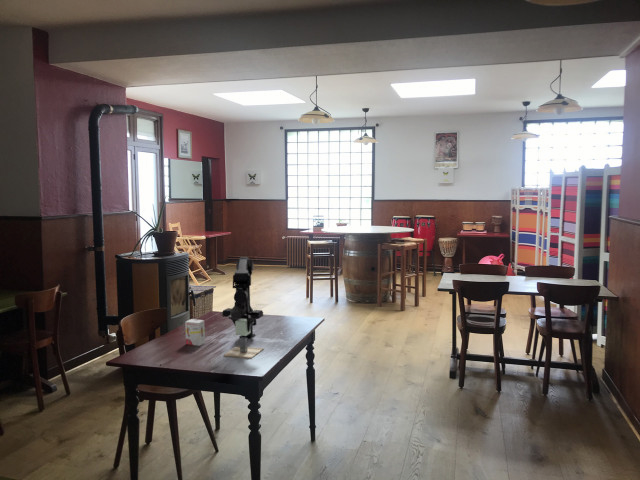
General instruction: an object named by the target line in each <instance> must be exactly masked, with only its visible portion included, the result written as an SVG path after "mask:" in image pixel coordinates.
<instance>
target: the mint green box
mask: <svg viewBox="0 0 640 480" xmlns="http://www.w3.org/2000/svg"><path fill="white" fill-rule="evenodd" d="M247 325H248V322H247V319H238V320H237V321H235V325H234V328H235V336H247V335H248V334H250V333H251V329H250V331H249V332H248V330H247Z"/></svg>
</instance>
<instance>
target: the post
mask: <svg viewBox="0 0 640 480" xmlns="http://www.w3.org/2000/svg"><path fill="white" fill-rule="evenodd" d="M239 346H240V352H242V353H246V352H247V351H248V348H247V347H248V338H243V337H242V338H240V337H239Z"/></svg>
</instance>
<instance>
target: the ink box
mask: <svg viewBox="0 0 640 480" xmlns="http://www.w3.org/2000/svg"><path fill="white" fill-rule="evenodd" d="M184 324H185V327H184V328H185V344H186V345H189V346H190V345H191V346H196V347H197V346H199V347H200V346H202V345H204V344H206V332H205V331H206V328H205V327H206V326H205V320H203V319H196V318H191V319H188V320H186V321H185V323H184Z"/></svg>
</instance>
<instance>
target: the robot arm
mask: <svg viewBox="0 0 640 480" xmlns="http://www.w3.org/2000/svg"><path fill="white" fill-rule="evenodd" d="M235 264H236V266H235V267H236V268H235V269H236V270H235V271H234V274H233V275H232V289H235V292H234V295H233V299H234V305H233V307H232V308H229V307H228V308H226V309H224V310H222V313H221V315H222V317H223V318H226V317H227V318H228V319H229V320H231V321H232V322H233V324H234V325H233V326H235V321H237V320H238V319H247V322H248V325H247V330H248V332H249V331H250V329H251V333H250V334H248V335H247V336H240V335H238V337H239V339H240V338H242V337H243V338H247V339H252V338H254V337H255V336H256V334H255V333H254V329H253V328H254V326H257V320H259V319H261V318H262V317H264V312H263V310H261V309H259V310H258V309H256V310H255V309H253V308H252V306H251V290H250V289H251V286H252V275H253V271H254V261H253V260H251V259H250V258H249V257H248V256H247V257H246V256H245V257H241V256H240V257H239V258H238V260H237V261H236V262H235Z"/></svg>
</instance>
